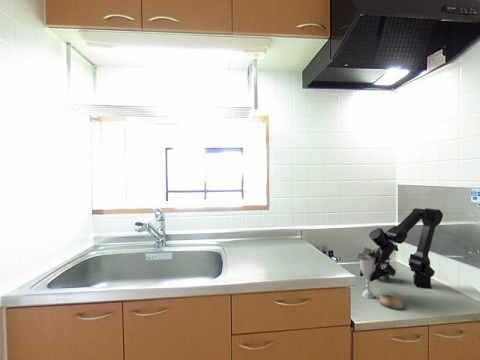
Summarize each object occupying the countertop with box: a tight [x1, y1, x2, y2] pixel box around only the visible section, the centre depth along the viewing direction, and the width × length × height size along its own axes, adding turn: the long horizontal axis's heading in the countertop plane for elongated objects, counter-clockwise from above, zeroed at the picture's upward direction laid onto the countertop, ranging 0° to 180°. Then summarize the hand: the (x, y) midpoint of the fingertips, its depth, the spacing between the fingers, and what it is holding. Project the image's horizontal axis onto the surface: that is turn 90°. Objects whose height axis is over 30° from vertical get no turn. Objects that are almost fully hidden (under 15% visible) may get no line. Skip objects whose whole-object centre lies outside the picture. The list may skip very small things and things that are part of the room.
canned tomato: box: [373, 260, 391, 284], centre depth 143 cm, size 8×8×11 cm
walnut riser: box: [379, 294, 404, 311], centre depth 116 cm, size 9×9×2 cm
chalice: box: [358, 255, 376, 300], centre depth 124 cm, size 7×7×18 cm
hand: (365, 278), depth 124 cm, fingers closed on chalice, 6 cm apart
